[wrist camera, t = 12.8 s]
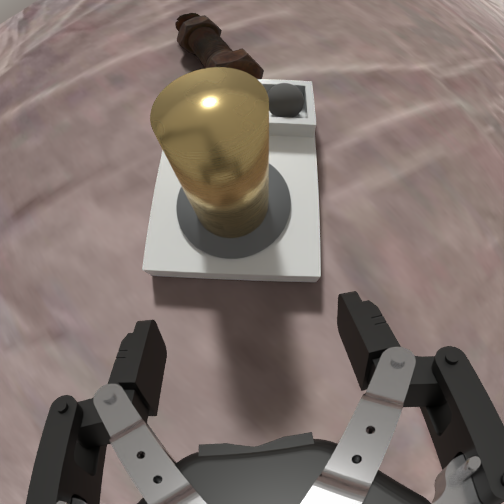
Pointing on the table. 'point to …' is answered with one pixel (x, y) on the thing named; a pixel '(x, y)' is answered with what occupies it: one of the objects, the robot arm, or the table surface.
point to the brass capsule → (218, 146)
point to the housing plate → (270, 230)
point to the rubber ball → (285, 100)
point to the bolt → (212, 45)
